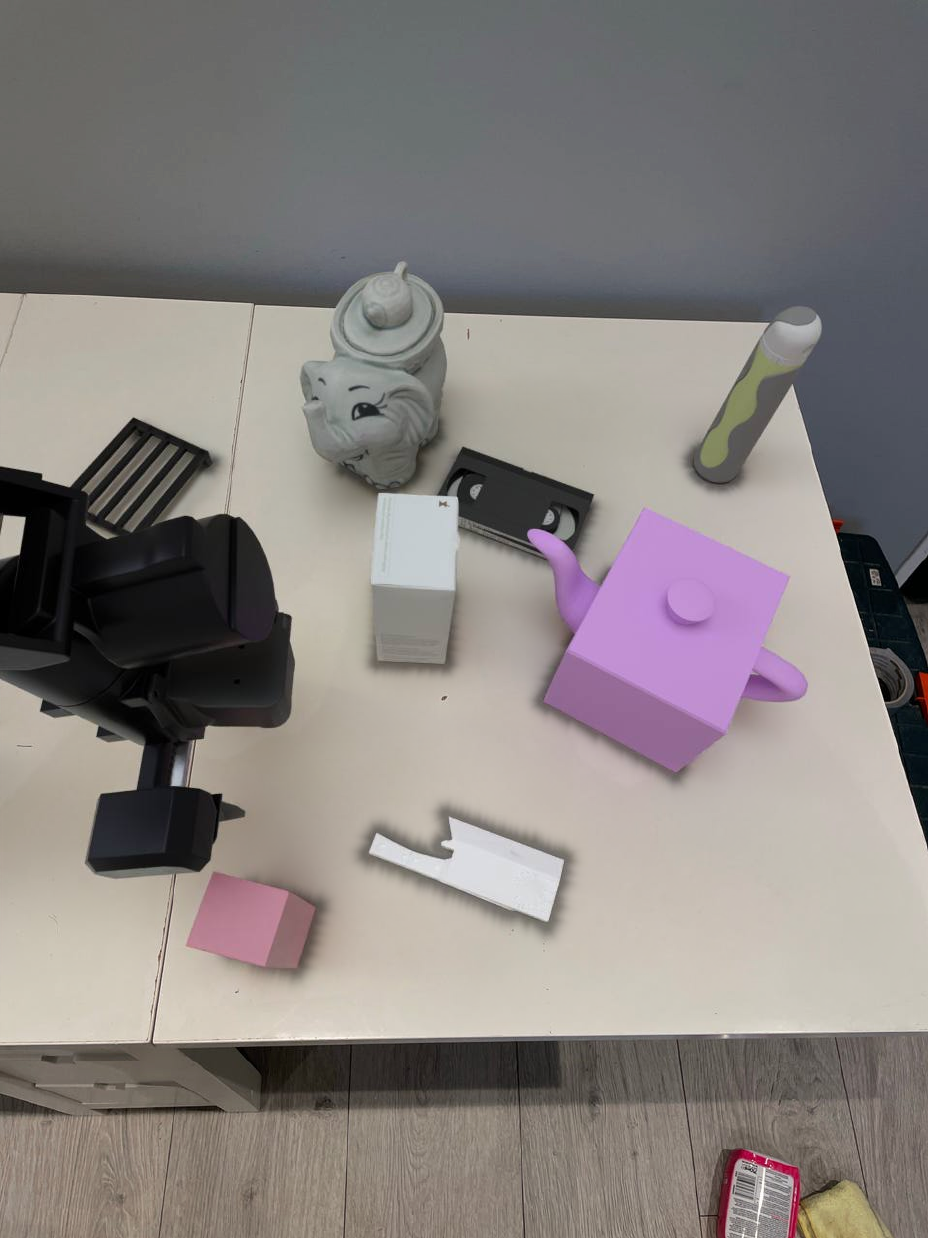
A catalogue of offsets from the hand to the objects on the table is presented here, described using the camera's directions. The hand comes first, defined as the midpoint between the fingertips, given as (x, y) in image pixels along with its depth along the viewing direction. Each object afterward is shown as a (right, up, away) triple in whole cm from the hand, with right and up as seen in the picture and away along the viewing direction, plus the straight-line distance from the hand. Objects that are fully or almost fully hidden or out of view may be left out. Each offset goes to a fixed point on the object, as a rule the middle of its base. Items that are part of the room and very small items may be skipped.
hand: (246, 746), depth 49 cm
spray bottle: (+41, +25, +29) cm, 56 cm away
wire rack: (-18, +22, +24) cm, 37 cm away
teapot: (+30, +4, +19) cm, 36 cm away
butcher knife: (+15, -11, +10) cm, 21 cm away
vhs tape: (+19, +19, +25) cm, 37 cm away
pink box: (0, -15, +7) cm, 17 cm away
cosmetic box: (+10, +8, +19) cm, 23 cm away
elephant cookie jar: (+6, +25, +27) cm, 38 cm away
